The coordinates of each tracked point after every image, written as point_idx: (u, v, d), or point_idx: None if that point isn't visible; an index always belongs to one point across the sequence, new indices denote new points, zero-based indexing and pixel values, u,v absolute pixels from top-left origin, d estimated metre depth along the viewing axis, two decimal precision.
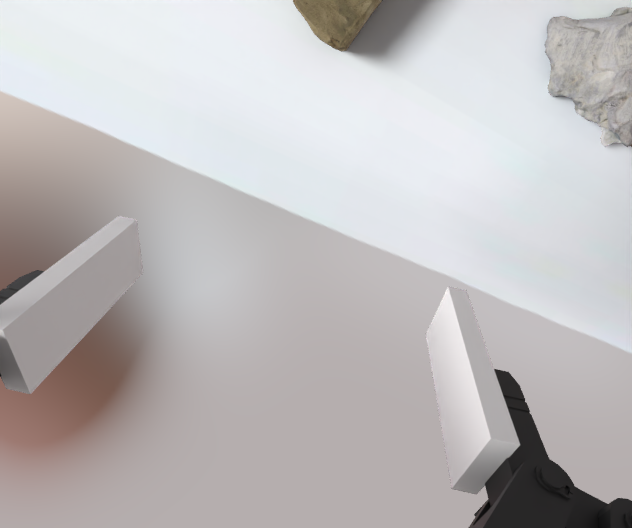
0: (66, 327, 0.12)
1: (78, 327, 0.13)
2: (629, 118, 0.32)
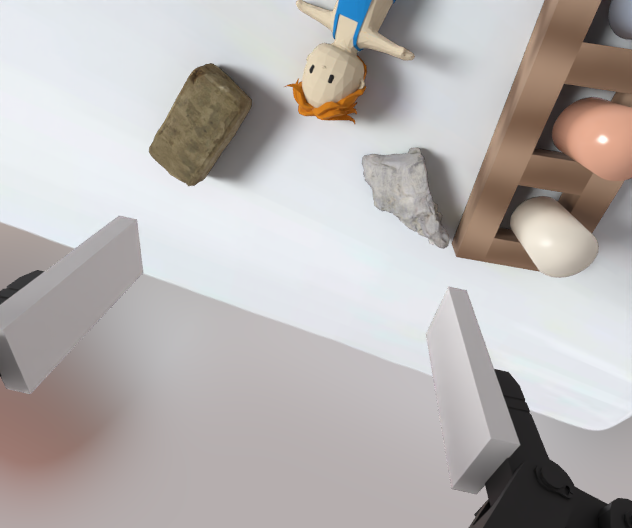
0: (66, 327, 0.12)
1: (78, 327, 0.13)
2: (434, 230, 0.39)
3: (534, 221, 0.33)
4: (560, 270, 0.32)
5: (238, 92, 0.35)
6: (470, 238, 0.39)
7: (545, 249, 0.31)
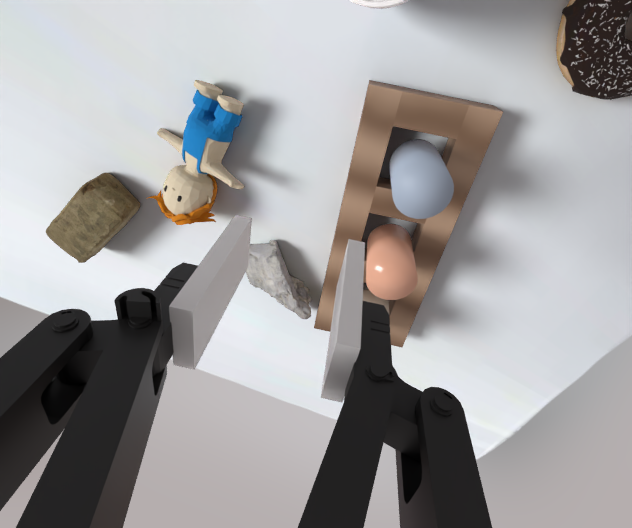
0: (214, 312, 0.14)
1: (218, 313, 0.14)
2: (294, 306, 0.47)
3: None
4: None
5: (124, 202, 0.43)
6: (322, 315, 0.48)
7: None
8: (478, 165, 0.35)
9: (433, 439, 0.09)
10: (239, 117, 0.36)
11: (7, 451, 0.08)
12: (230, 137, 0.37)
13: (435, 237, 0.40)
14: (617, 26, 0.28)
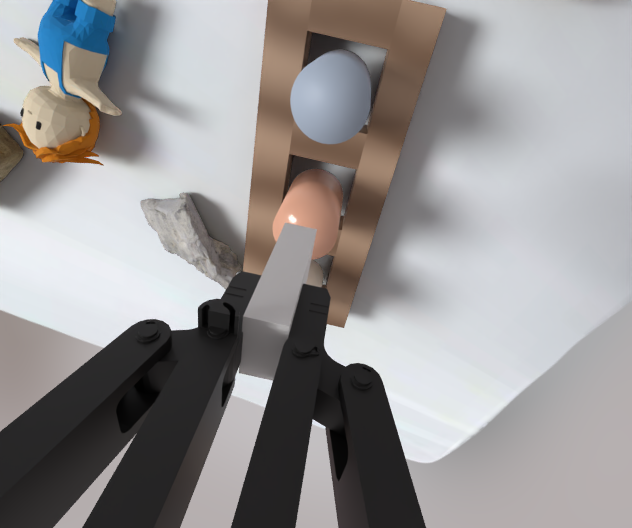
0: None
1: None
2: (214, 274, 0.39)
3: None
4: None
5: None
6: None
7: None
8: (419, 87, 0.27)
9: (355, 414, 0.09)
10: (109, 18, 0.28)
11: (79, 457, 0.08)
12: (102, 47, 0.29)
13: (371, 187, 0.32)
14: None
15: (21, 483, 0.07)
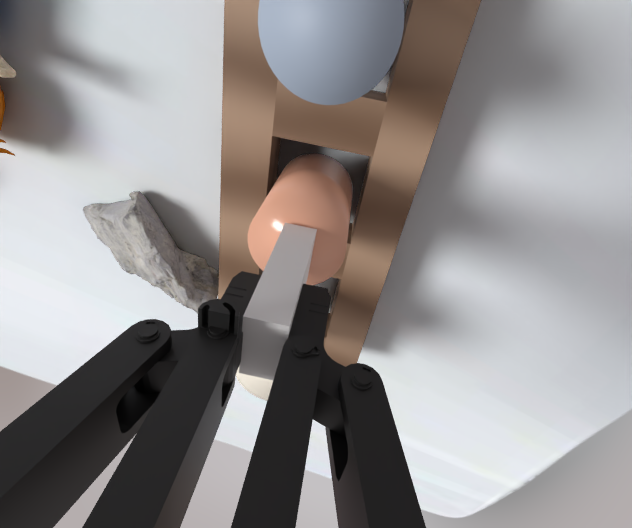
0: None
1: None
2: (184, 298, 0.28)
3: None
4: None
5: None
6: None
7: None
8: (470, 22, 0.17)
9: (355, 414, 0.09)
10: None
11: (79, 457, 0.08)
12: None
13: (393, 182, 0.22)
14: None
15: (21, 483, 0.07)
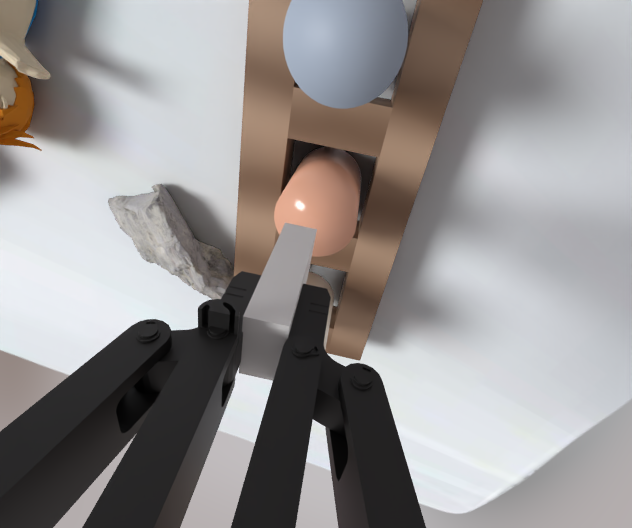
0: None
1: None
2: (201, 285, 0.30)
3: None
4: None
5: None
6: None
7: None
8: (467, 37, 0.19)
9: (355, 414, 0.09)
10: None
11: (79, 457, 0.08)
12: None
13: (398, 181, 0.24)
14: None
15: (21, 483, 0.07)
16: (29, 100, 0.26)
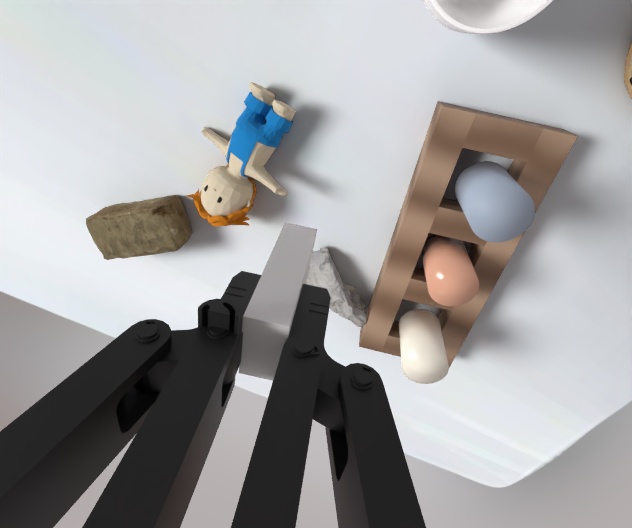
0: None
1: None
2: (350, 314, 0.45)
3: (407, 335, 0.41)
4: (423, 378, 0.40)
5: (183, 232, 0.44)
6: (369, 334, 0.47)
7: (408, 363, 0.39)
8: (546, 188, 0.35)
9: (355, 414, 0.09)
10: (290, 123, 0.36)
11: (79, 457, 0.08)
12: (278, 142, 0.37)
13: (494, 259, 0.39)
14: None
15: (21, 483, 0.07)
16: None
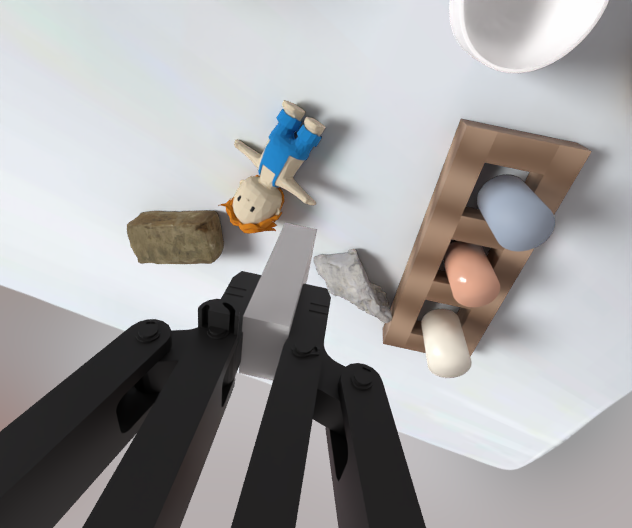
0: None
1: None
2: (377, 311, 0.48)
3: (431, 333, 0.44)
4: (447, 373, 0.43)
5: (219, 247, 0.47)
6: (392, 332, 0.50)
7: (434, 359, 0.42)
8: (562, 198, 0.38)
9: (356, 414, 0.09)
10: (320, 138, 0.38)
11: (79, 457, 0.08)
12: (307, 155, 0.39)
13: (512, 262, 0.42)
14: None
15: (21, 483, 0.07)
16: None
